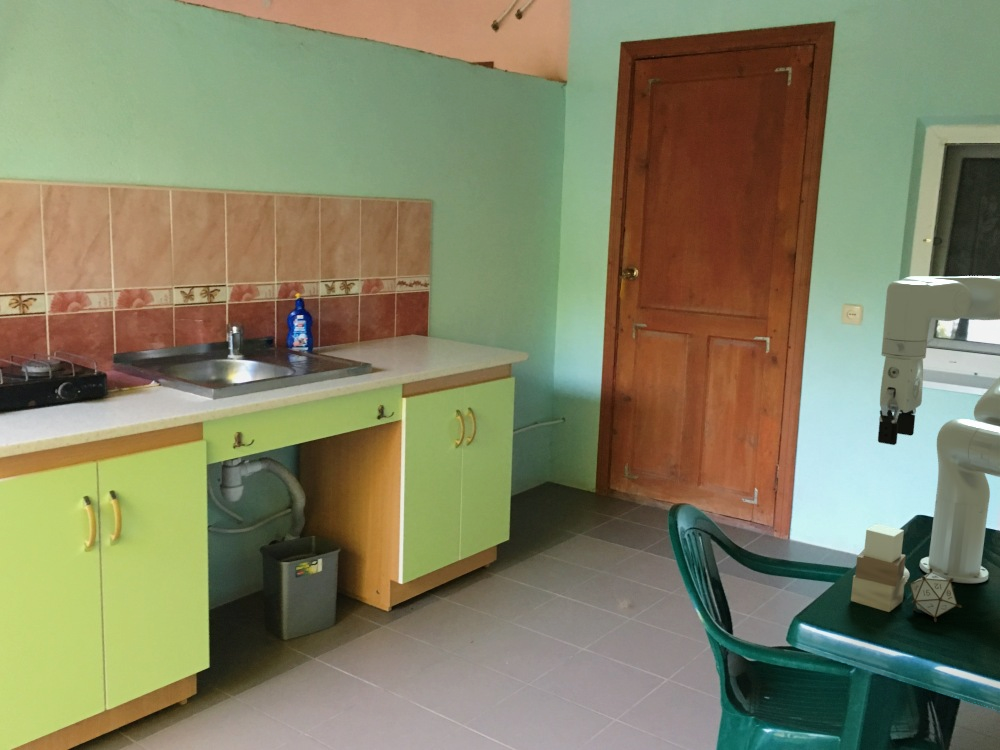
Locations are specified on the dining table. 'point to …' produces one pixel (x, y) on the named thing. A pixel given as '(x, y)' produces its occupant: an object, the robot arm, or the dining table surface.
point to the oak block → (877, 593)
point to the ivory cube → (883, 543)
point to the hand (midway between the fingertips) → (895, 438)
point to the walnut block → (880, 569)
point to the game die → (933, 594)
